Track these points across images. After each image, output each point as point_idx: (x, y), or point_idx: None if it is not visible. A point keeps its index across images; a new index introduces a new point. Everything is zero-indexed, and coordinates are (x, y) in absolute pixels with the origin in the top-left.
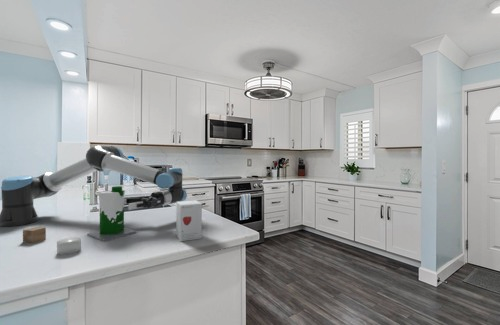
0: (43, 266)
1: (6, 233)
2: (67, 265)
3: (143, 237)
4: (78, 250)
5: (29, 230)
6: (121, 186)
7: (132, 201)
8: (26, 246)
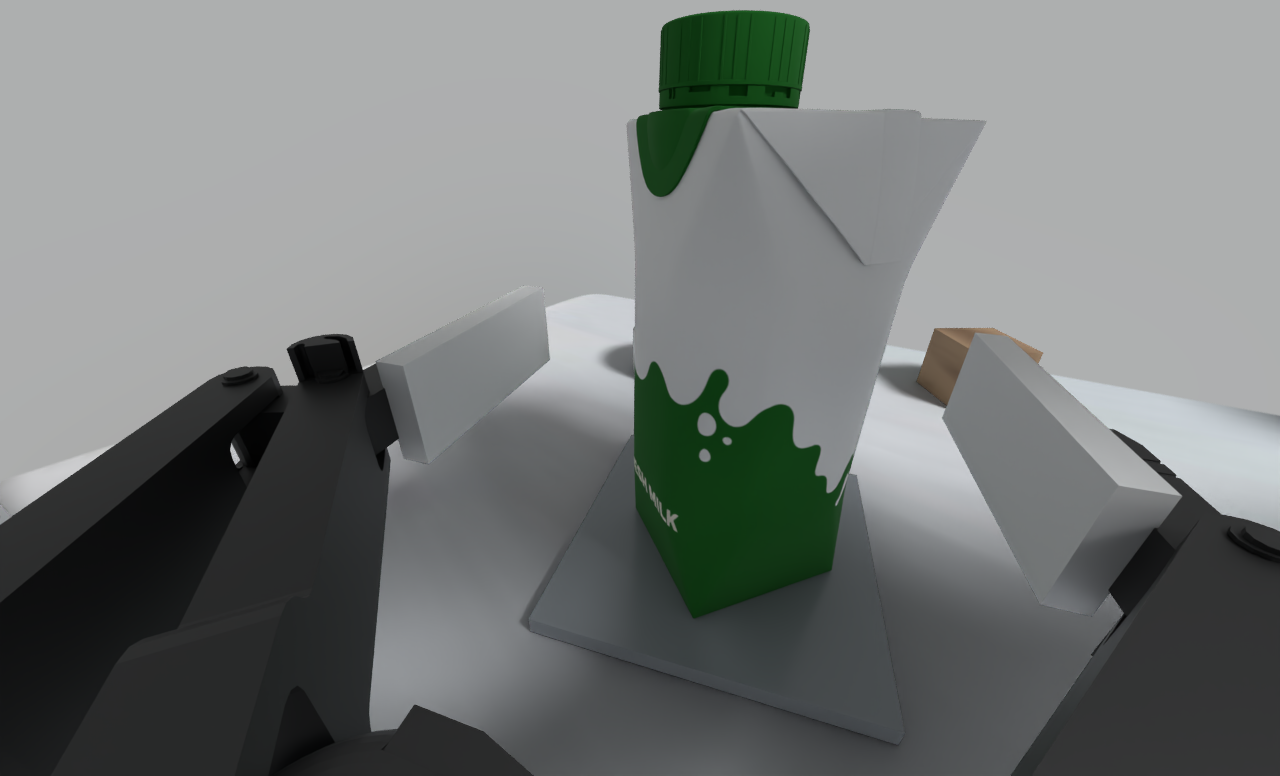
0: (625, 324)
1: (1264, 415)
2: (565, 332)
3: (397, 547)
4: (634, 370)
5: (952, 328)
6: (708, 12)
7: (1068, 702)
8: (881, 366)
